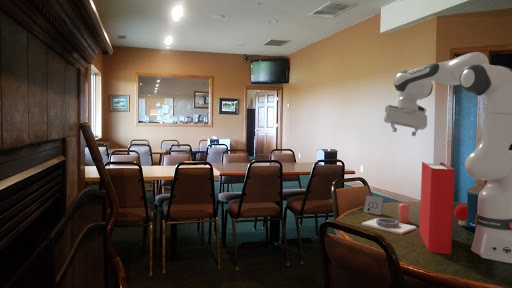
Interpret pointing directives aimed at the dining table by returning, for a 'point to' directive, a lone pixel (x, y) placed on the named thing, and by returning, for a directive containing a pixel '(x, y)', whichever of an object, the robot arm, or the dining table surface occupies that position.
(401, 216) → the lockout cap
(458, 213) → the red mushroom
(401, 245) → the dining table surface
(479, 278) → the dining table surface
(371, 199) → the electrical switch
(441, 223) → the book
